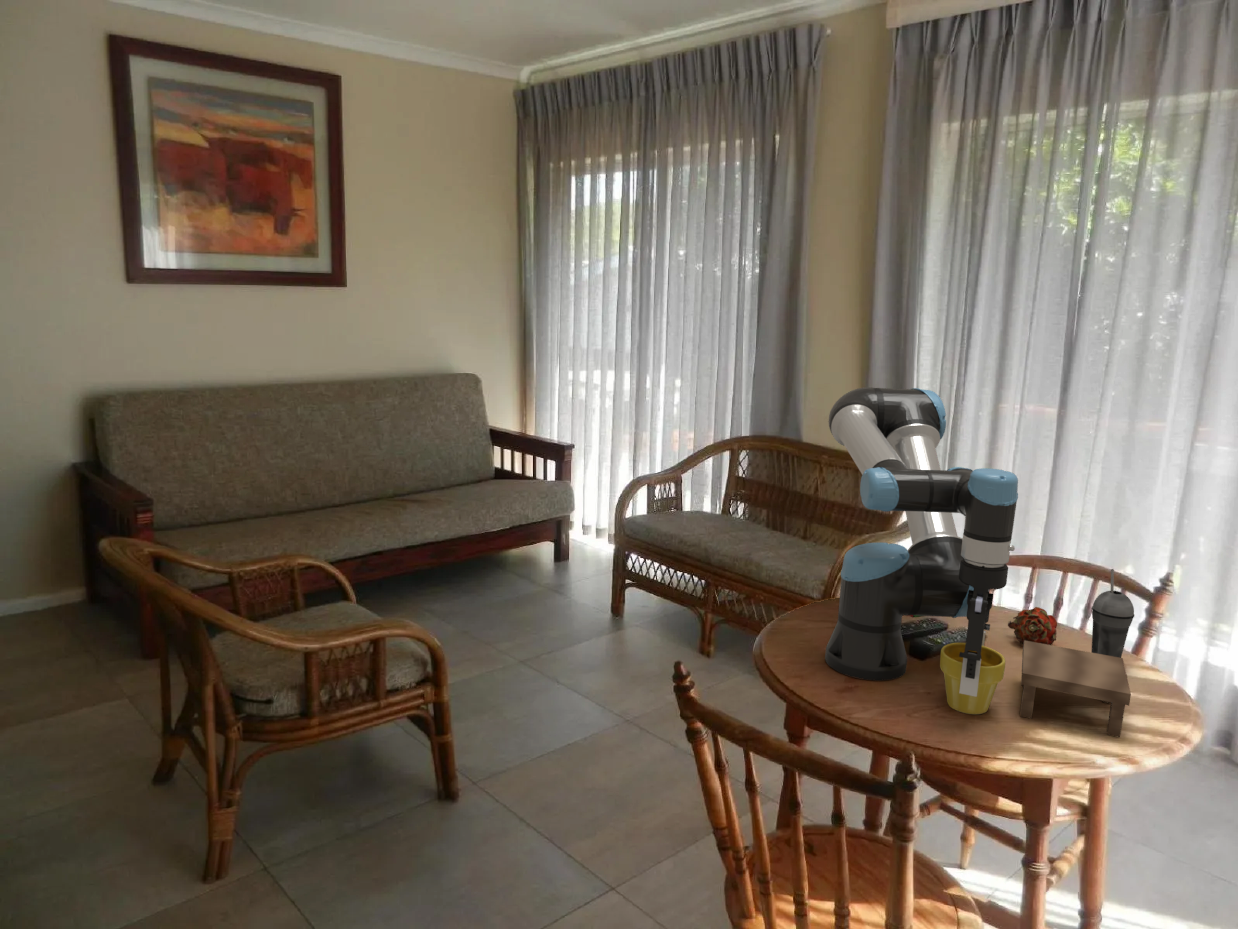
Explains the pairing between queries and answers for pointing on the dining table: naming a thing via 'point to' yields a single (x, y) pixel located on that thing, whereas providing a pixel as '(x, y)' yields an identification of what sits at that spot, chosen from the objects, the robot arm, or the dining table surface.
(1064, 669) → the walnut stool
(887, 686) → the dining table surface
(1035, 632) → the dragon fruit
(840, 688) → the dining table surface
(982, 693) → the plant pot
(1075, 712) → the dining table surface
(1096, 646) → the beverage cup
